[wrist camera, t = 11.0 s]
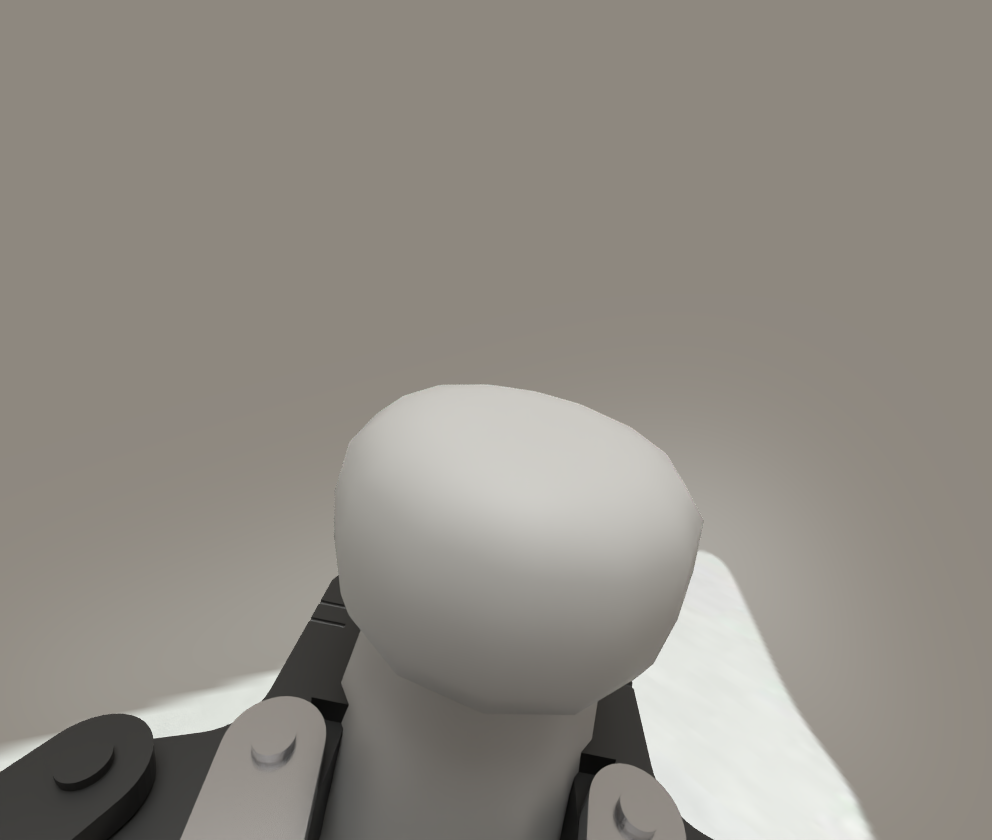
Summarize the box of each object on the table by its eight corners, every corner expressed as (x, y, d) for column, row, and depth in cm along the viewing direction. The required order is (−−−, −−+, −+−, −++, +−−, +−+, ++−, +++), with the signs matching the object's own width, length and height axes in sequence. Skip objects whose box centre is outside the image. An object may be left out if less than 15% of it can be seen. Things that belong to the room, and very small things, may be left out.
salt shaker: (263, 840, 12) (275, 326, 7) (479, 779, 14) (604, 360, 9) (236, 1318, 7) (211, 699, 2) (575, 1102, 9) (960, 569, 4)
